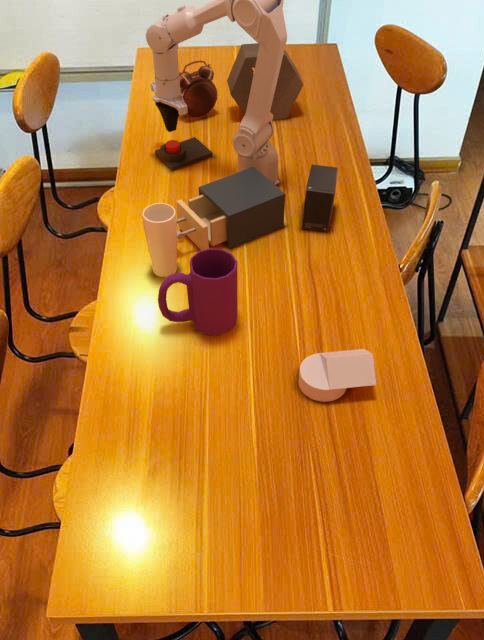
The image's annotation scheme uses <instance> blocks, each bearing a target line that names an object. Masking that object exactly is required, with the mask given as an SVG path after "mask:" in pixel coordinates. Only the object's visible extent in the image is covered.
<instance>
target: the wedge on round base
mask: <svg viewBox="0 0 484 640" xmlns="http://www.w3.org/2000/svg"><path fill="white" fill-rule="evenodd" d="M298 372H299V374H298V387H299V389H300V391H301V392H302V394H303V395H305V397H307V398H309V399H311V400H314V401H317V402H322V403H323V402H324V403H325V402H327V403H328V402H332V401H336V400H338V399H339V398H341V397H342V396H343V395H344V394H345V393H346V391H347V389H350V388H359V387H370V386H377V380H376V378H377V377H376V369H375V361H374V354H373V353H372V352H370V351H368V350H367V349H366V348H356V349H347V350H336V351H325V352H317V353H313V354H310V355H307V357H305V358H304V359H303V360H302V361H301V364H300V366H299V371H298Z"/></svg>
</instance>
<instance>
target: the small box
mask: <svg viewBox="0 0 484 640" xmlns="http://www.w3.org/2000/svg"><path fill="white" fill-rule="evenodd" d="M338 169H339V168H338V167H337V166H329V165H321V164H313V163H312V164H311V166H310V169H309V174H308V178H307V182H306V187H305V192H304V202H303V213H302V221H301V229H302V230H310V231H316V232H317V231H318V232H328V231H329V228H330V224H331V220H332V215H333V210H334V204H335V198H336V190H337V181H338Z"/></svg>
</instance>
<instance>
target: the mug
mask: <svg viewBox="0 0 484 640" xmlns="http://www.w3.org/2000/svg"><path fill="white" fill-rule="evenodd" d="M164 278H165V279H163V280H162V281H161V283H160V286H159V288H158V295H157V303H158V308H159V311H160V314H161V316H162V317H164V318H165V319H166V320H168V321H169V322H174V323H188V322H192V323H194V327H195V329H196V331H198V332H201V333H202V334H204V335H206V336H217V337H218V336H221V335H225V334H227V333H230V332H231V331H232V330H233V329H235V327H236V326H237V322H238V316H239V315H238V311H239V309H238V306H239V305H238V303H239V302H238V294H239V293H238V259H236V257H235V256H234V254H233V253H232V252H231V251H227V250H226V249H223V248H212V247H209V249H205V250H198V251H197V252H196V253H195V254H194V255H192V256H191V257H190V259H189V273H184V272H175V274H171V275H169V276H168V277H164ZM177 283H179V284H182V285H185V286H186V295H187V302H188V303H187V304H188V308H186V309H182V310H180V311H174V310H171V309H169V307H168V303H167V302H168V301H167V295H168V294H167V293H168V290H169V288H170V287H171V286H173V285H174V284H177Z"/></svg>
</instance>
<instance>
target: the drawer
mask: <svg viewBox="0 0 484 640" xmlns="http://www.w3.org/2000/svg"><path fill="white" fill-rule="evenodd" d="M187 200H188V202H187V203H188V205H187V204H186V202H184V200H183V199H181V198H180V199H178V200H176V201H175V202H176V215H177V218H176V219H177V240H179V241H180V240H183V238H184V237H185V236H187V237H188V239H190V240H191V241H192V243H193V244H194V245H196V246H197V248H198V249H199V250H200V251H202V250H205V249H209V248H210V245H211V246H212V247H214V246H217V245H219V244H221V243H223V242H224V241H227V217H226V216H225V215H224V214H223V213H222V212H221V211H220V210H219V209H218V208H217V207H216V206H215V205H213V204H212V203H211V202H210V201H209V200H208V199H207V198H206V197H205V196H204V195H203V194H202V195H200V196H199V195H197V196H195V197H192V198H189V199H187ZM180 230H181V231H180Z"/></svg>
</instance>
